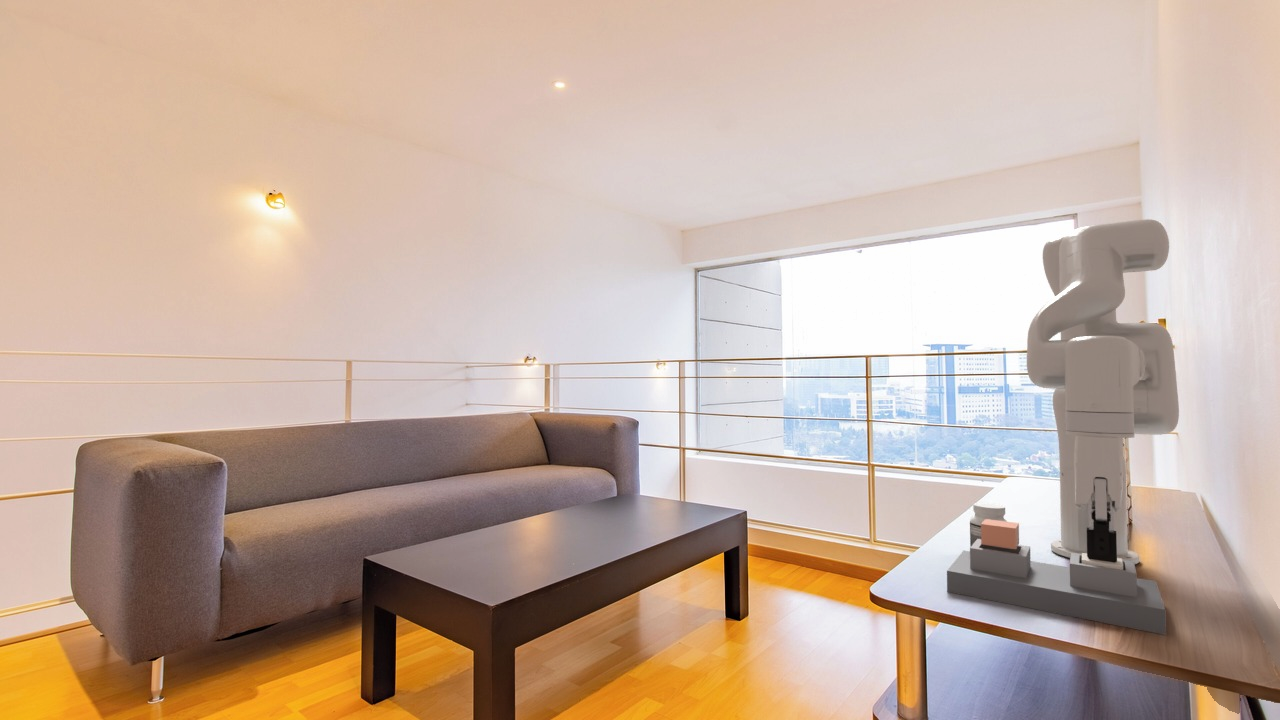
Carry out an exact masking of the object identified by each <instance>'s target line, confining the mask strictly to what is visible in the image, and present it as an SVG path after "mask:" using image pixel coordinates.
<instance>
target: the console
mask: <svg viewBox="0 0 1280 720" xmlns="http://www.w3.org/2000/svg"><path fill="white" fill-rule="evenodd" d="M1122 562H1123V570H1120V569H1114V568H1107V567H1101V566H1094V565H1088V564H1082V554H1079V553H1072V552H1071V557H1070V558H1069V566H1064V565H1060V564H1059V565H1057V564H1050V563H1045V562H1038V561H1031V546H1029V545H1023V544H1019V545H1018V547H1017V549H1009V548H1003V547H996V546H990V545H983V544H981V539H977V540H976V541H975V542H974V544H973V545H972V546H971V547H969V550H962V552H961V553H960V554H959V555H958V556H957V558H956V559H955V560H954V561H953V563H952V564H951V565H950V567H948V569H947V570H946V592H947V593H948V592H949V593H954V594H959V595H963V596H967V597H972V598H973V597H974V598H978V599H981V600H982V599H983V600H989V601H992V602H993V601H994V602H999V603H1004V604H1008V605H1014V606H1019V607H1023V608H1028V609H1034V610H1037V611H1039V610H1040V611H1042V612H1043V611H1044V612H1048V613H1054V614H1058V615H1063V616H1068V617H1074V618H1078V619H1083V620H1090V621H1094V622H1099V623H1103V624H1104V623H1105V624H1109V625H1115V626H1120V627H1124V628H1129V629H1134V630H1139V631H1144V632H1149V633H1154V634H1160V635H1164V636H1166V635H1167V615H1166V612H1167V611H1166V607H1165V603H1164V601H1163V598H1162V594H1161V592H1160V590H1159V587H1158V582H1157V580H1153V579H1146V578H1141V577H1140V578H1139V577H1137V576H1138V575H1137V570H1136V566H1135V565H1136V564H1134V562H1133V561H1127V560H1122Z"/></svg>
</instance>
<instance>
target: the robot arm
mask: <svg viewBox="0 0 1280 720" xmlns="http://www.w3.org/2000/svg"><path fill="white" fill-rule="evenodd" d="M1169 253H1170V239H1169V235H1168V232H1167V230H1166V228H1165V226H1164V225H1163V224H1162V223H1161V222H1159V221H1158V220H1155V219H1149V218H1147V219H1136V220H1127V221H1118V222H1111V223H1109V222H1108V223H1101V224H1094V225H1087V226H1082V227H1079V228H1076V229H1074V230H1072V231H1070V232H1069V233H1064V234H1059V235H1057V236H1054V237H1052V238H1050V239H1049V240H1048V241H1047V242H1046V243H1045V244H1044V246H1043V249H1042V264H1043V270H1044V275H1045V276H1046V279H1047V282H1048V284H1049V287H1050V289H1051V291H1052V293H1053V295H1054V297H1053V298H1051V299H1050V300H1049V301H1048V302H1047V303H1045V305H1043V306H1042V308H1040V310H1039V311H1038V312H1037V313H1035V316H1034V317H1033V319H1032V321H1031V322H1030V325H1029V327H1028V331H1027V341H1026V342H1027V347H1026V370H1027V374H1028V377H1029V379H1030V381H1031V382H1032V384H1033V385H1035V386H1037V387H1039V388H1043V389H1049V390H1050V389H1052V390H1053V389H1054V391H1053V395H1052V408H1053V415H1054V419H1055V424H1056V431H1057V438H1058V453H1059V454H1058V455H1059V457H1058V458H1059V499H1060V500H1059V502H1060V504H1059V505H1060V507H1059V508H1060V510H1059V511H1060V540H1056V541H1052V542H1051V543H1050V549H1051V551H1052V552H1053V553H1055V554H1057V555H1060V556H1062V557H1065V558H1069V559H1070V557H1071V552H1072V553H1079V554H1082V553H1087V557H1088V558H1089V559H1093V560H1100V561H1107V562H1114V563H1115V562H1117V558H1121V559H1122V560H1127V561H1133V562H1134V565H1137V564H1138V563H1140V555H1139V554H1138V553H1137V552H1135V551H1133V550H1130V549H1128V548H1129V547H1128V546H1129V545H1128V518H1127V517H1128V513H1127V512H1128V510H1127V509H1128V508H1127V507H1128V506H1127V468H1126V459H1125V456H1124V439H1130V438H1135V435H1144V436H1145V435H1151V436H1155V435H1156V436H1157V435H1159V436H1161V435H1166V434H1170V433H1172V432H1173V431H1174V430H1175V429H1176V428H1177V426H1178V424H1179V417H1180V409H1179V407H1180V406H1179V405H1180V404H1179V393H1178V392H1179V391H1178V382H1177V372H1176V361H1175V351H1174V345H1173V344H1174V343H1173V341H1172V337H1171V334H1170V333H1169V330H1168V329H1167V328H1166V327H1164V326H1163V325H1162V324H1159V323H1154V322H1126V323H1125V322H1124V323H1123V322H1122V323H1119V322H1118V320H1117V308H1119V307H1120V306H1121V305H1122V303H1123V302H1124V299H1125V296H1126V289H1125V281H1124V279H1125V278H1124V274H1126V273H1140V272H1141V273H1142V272H1150V271H1151V272H1152V271H1157V270H1160V268H1161V269H1162V268H1163V266H1164V265H1165V264H1166V263H1167V259H1168V257H1169ZM1057 334H1060V339H1057V340H1056V339H1054V340H1051V339H1052V338H1054V337H1055V336H1056V335H1057Z"/></svg>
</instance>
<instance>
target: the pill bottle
mask: <svg viewBox="0 0 1280 720" xmlns="http://www.w3.org/2000/svg"><path fill="white" fill-rule="evenodd" d="M972 511H973V512H974V515H973V516H972V517H971V518H970V519H969V540H970V543H969V544H970V547H971V546H972V545H973V544H974V542H975V541H976V540H977V539H981V523H982V522H983V521H984V520H985V519H990V520H998V521H1005V522H1008V520H1006V519H1005V517H1004V516H1005V515H1006V507H1005V506H1004V505H1001V504H998V503H990V502H975V503H973V510H972ZM970 547H969V548H970Z"/></svg>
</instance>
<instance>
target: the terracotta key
mask: <svg viewBox="0 0 1280 720" xmlns="http://www.w3.org/2000/svg"><path fill="white" fill-rule="evenodd" d="M981 544H983V545H990V546H996V547H1003V548H1009V549H1017V547H1018V545H1020V523H1019V522H1011V521H1007V522H1005V521H998V520H990V519H985V520H984V521H983V522H982V523H981Z"/></svg>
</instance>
